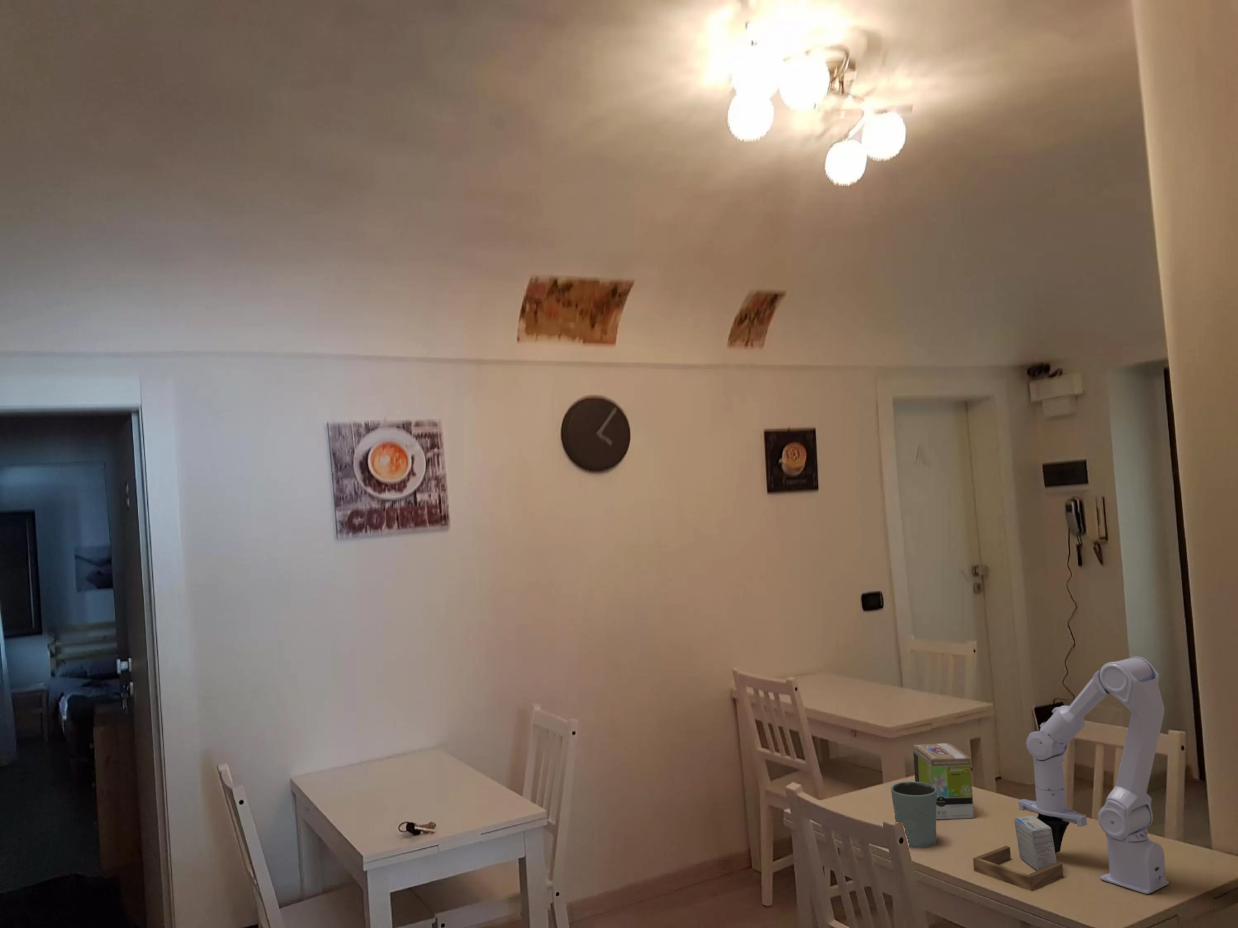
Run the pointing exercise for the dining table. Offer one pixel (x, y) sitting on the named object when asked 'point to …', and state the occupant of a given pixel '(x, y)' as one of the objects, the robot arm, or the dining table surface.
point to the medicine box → (1035, 842)
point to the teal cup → (916, 811)
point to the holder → (1031, 881)
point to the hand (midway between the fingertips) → (1054, 851)
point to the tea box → (946, 778)
